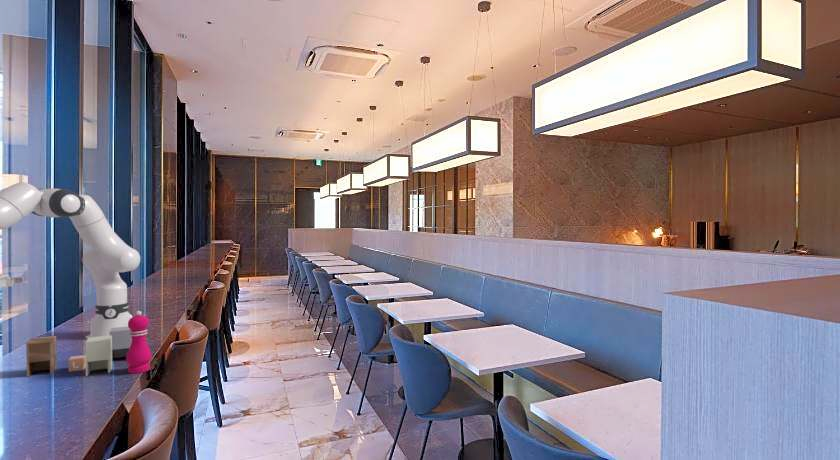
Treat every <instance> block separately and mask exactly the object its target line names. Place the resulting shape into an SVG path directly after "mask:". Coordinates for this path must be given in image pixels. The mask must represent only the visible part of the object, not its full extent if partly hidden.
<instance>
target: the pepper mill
mask: <svg viewBox="0 0 840 460" xmlns="http://www.w3.org/2000/svg"><path fill="white" fill-rule="evenodd" d="M142 313H143V312H142V311H141V310H137V311H135V315H134V316H132V318H131V319H130V320H129V321H128V327H129V329H131V331H130V336H131V338H132V341H131V346H130V349H129V351H128V353H127V356H126V357H125V361H126V364H128V367H127V373H128V374H133V375H135V374H141V373H145V372H148V371H150V370H151V363H149V362H150V361H151V360H152V358H153V357H152V352H151V350H150V348H149V345H148V342H147V334H148V329H147V328H148V327H149V325H150V320H149V318H148V317H147V316H146V315H143V314H142Z"/></svg>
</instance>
